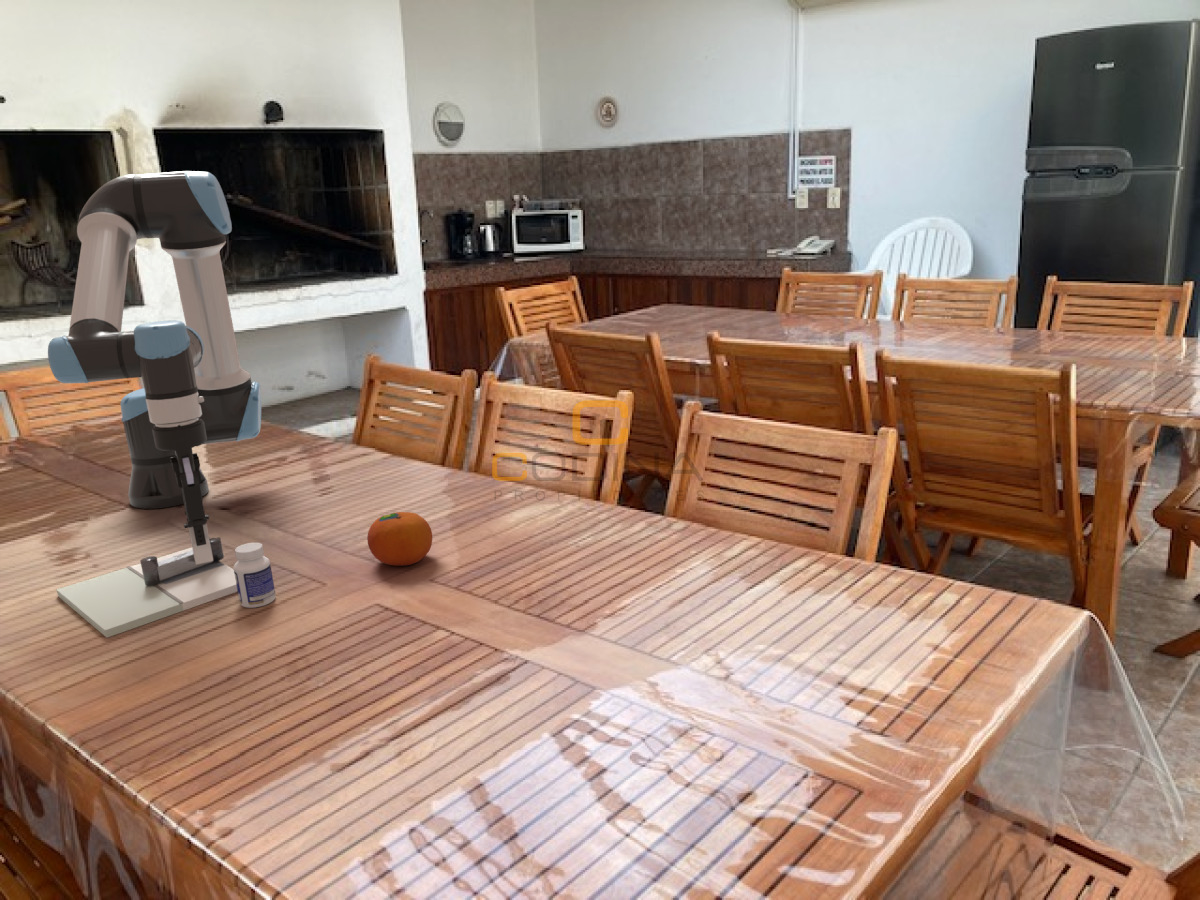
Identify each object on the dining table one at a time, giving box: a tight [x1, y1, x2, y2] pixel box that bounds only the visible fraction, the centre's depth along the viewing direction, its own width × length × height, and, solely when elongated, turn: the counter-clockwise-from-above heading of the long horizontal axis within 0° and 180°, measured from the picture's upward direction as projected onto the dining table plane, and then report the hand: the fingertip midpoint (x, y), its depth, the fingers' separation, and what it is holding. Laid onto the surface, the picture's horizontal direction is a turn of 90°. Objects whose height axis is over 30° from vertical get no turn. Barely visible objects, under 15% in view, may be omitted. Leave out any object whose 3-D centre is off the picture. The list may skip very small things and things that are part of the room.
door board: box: [56, 546, 238, 638], centre depth 149 cm, size 22×22×1 cm
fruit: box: [366, 511, 433, 567], centre depth 155 cm, size 11×10×8 cm
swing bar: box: [140, 537, 225, 586], centre depth 152 cm, size 13×3×4 cm, turn 140°
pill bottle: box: [233, 542, 277, 609], centre depth 142 cm, size 5×5×9 cm
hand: (204, 561), depth 153 cm, fingers closed
